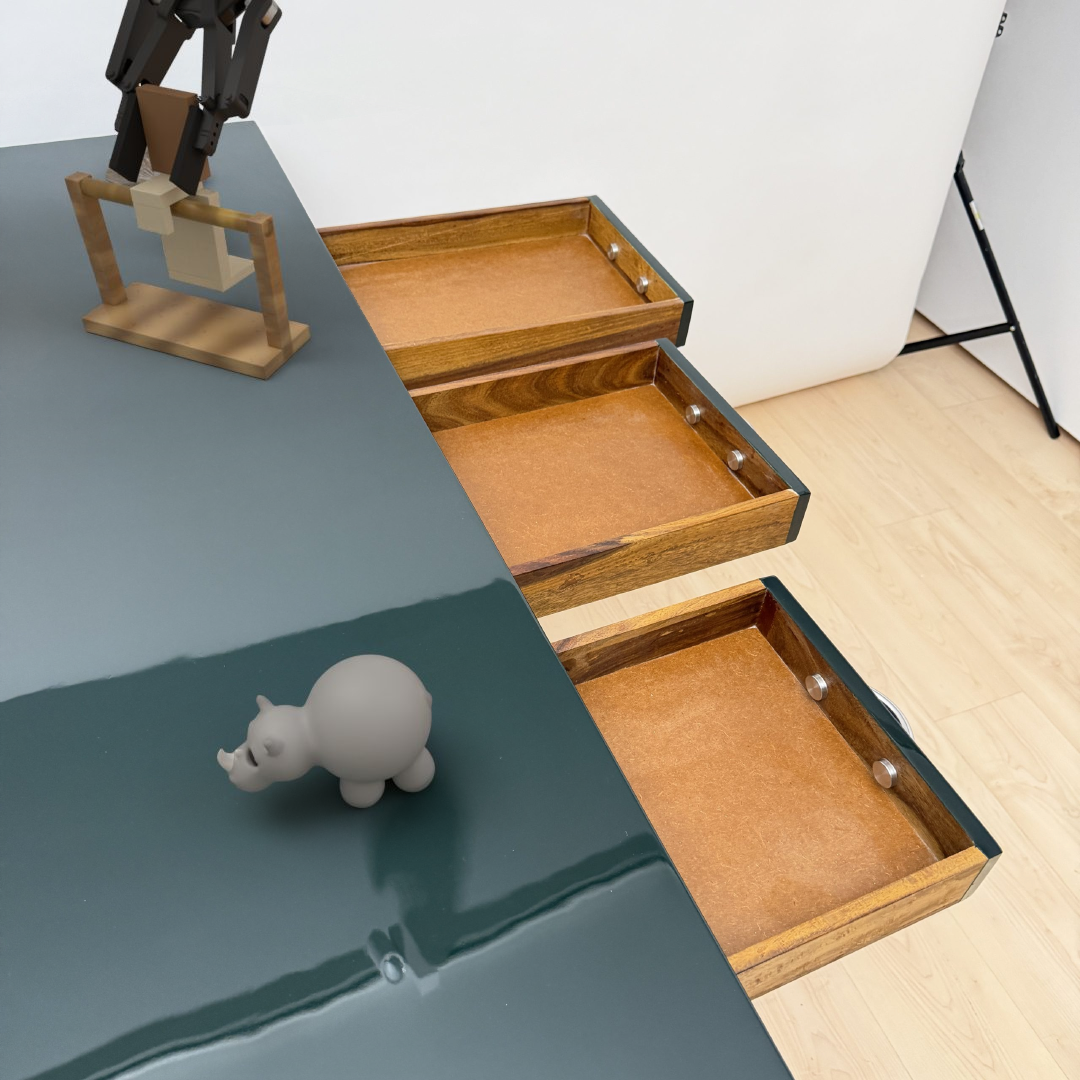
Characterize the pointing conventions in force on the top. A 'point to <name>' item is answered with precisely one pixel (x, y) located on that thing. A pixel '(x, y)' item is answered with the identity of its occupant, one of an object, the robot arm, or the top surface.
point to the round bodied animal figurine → (343, 733)
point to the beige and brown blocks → (186, 243)
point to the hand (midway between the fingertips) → (152, 181)
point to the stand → (180, 317)
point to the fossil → (143, 175)
